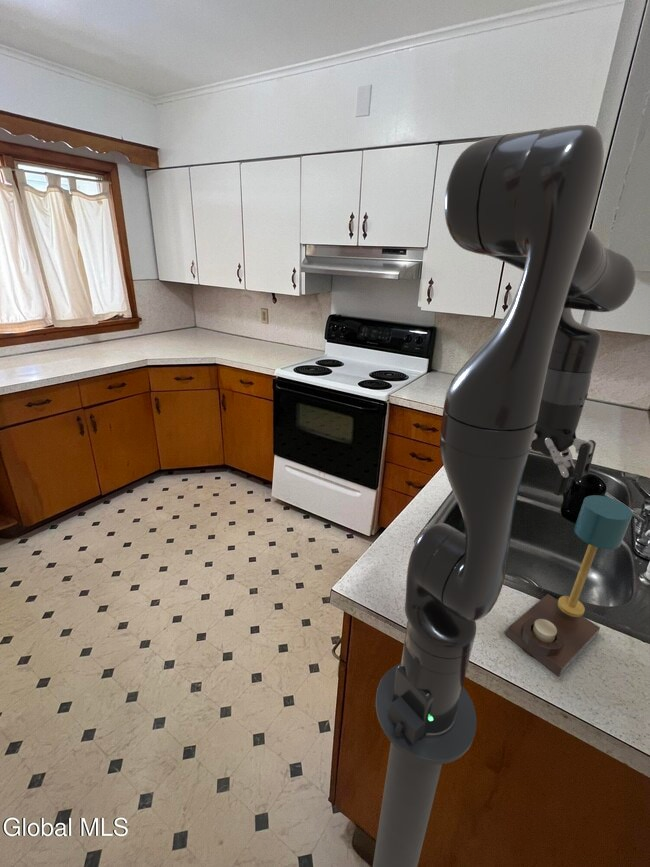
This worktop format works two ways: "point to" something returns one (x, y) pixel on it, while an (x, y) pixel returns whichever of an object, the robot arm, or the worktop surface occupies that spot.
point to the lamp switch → (544, 630)
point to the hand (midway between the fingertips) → (534, 482)
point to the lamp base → (567, 641)
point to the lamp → (595, 540)
